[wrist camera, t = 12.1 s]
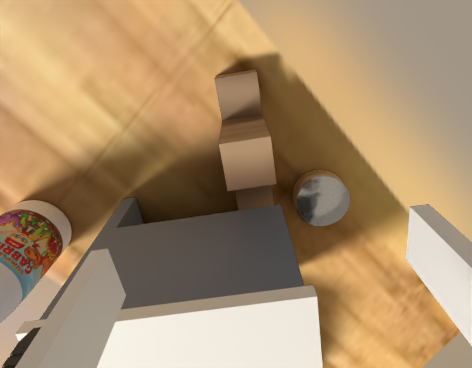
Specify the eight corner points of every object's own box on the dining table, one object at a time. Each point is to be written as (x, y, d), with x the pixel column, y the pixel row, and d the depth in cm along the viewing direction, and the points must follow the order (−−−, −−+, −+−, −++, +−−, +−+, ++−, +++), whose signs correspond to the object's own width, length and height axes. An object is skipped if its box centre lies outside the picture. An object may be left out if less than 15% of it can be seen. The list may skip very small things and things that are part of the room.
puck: (282, 187, 39) (286, 197, 36) (326, 159, 37) (333, 167, 35) (308, 222, 41) (313, 235, 38) (351, 197, 39) (359, 208, 37)
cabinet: (117, 195, 39) (14, 334, 21) (276, 172, 38) (317, 296, 20) (150, 292, 45) (93, 467, 27) (289, 274, 44) (328, 443, 26)
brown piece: (216, 75, 34) (208, 91, 23) (255, 69, 33) (264, 81, 23) (247, 251, 42) (251, 318, 32) (278, 247, 42) (292, 313, 32)
